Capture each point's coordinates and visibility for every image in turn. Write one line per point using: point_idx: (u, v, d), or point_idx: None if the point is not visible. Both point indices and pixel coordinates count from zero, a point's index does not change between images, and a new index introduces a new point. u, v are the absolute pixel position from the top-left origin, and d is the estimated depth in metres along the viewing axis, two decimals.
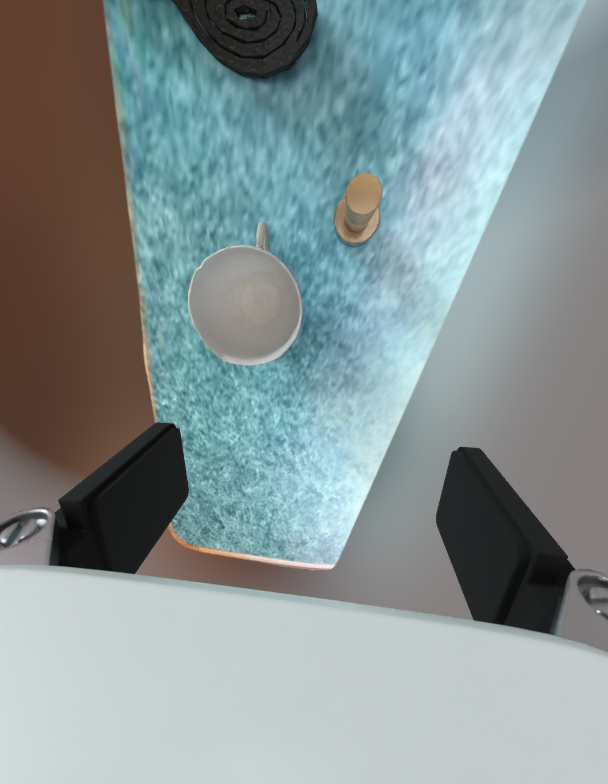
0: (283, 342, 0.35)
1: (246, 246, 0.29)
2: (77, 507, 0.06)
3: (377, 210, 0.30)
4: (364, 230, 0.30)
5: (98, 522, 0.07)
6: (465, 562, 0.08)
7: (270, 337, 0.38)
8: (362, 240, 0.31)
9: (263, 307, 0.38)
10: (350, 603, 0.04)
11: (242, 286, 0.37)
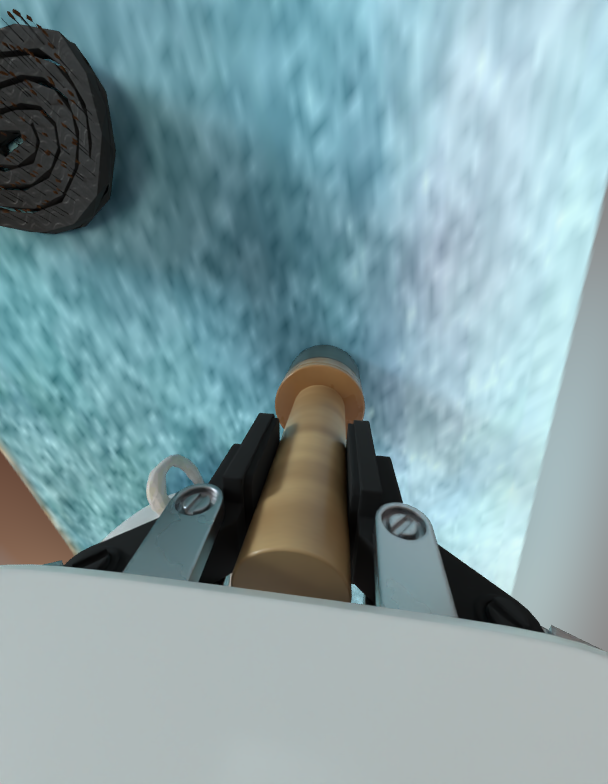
0: None
1: None
2: (237, 483, 0.07)
3: (353, 386, 0.14)
4: None
5: (251, 497, 0.08)
6: None
7: None
8: None
9: None
10: (350, 603, 0.04)
11: None
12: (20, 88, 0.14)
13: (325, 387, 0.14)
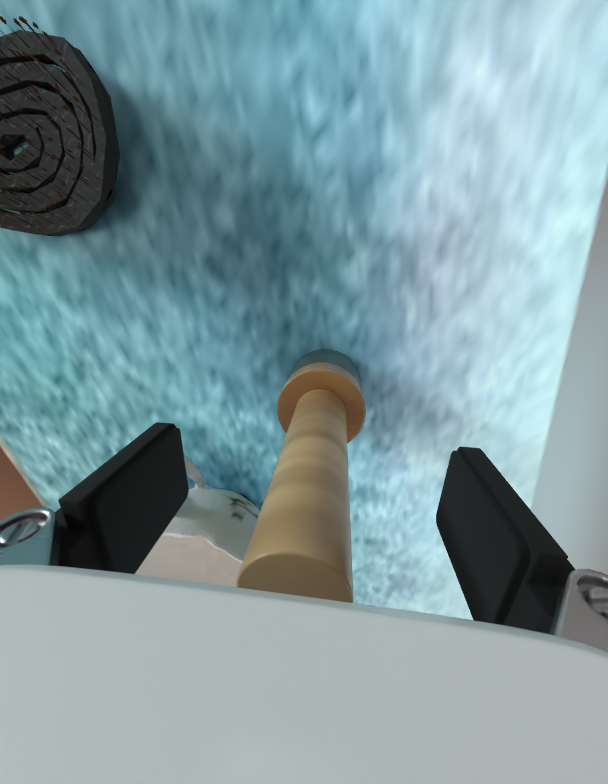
0: None
1: None
2: (77, 507, 0.06)
3: (354, 391, 0.15)
4: None
5: (98, 522, 0.07)
6: (465, 562, 0.08)
7: None
8: None
9: None
10: (350, 603, 0.04)
11: None
12: (25, 93, 0.14)
13: (326, 392, 0.15)
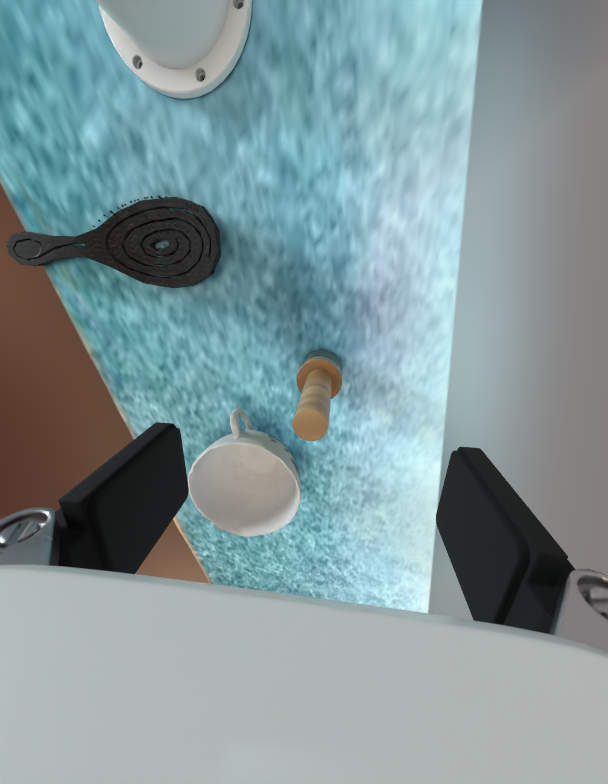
0: (291, 496, 0.35)
1: (225, 444, 0.30)
2: (77, 507, 0.06)
3: (335, 370, 0.29)
4: (330, 389, 0.30)
5: (98, 522, 0.07)
6: (465, 562, 0.08)
7: (278, 486, 0.38)
8: (331, 397, 0.30)
9: (263, 459, 0.39)
10: (350, 603, 0.04)
11: (237, 447, 0.38)
12: (172, 222, 0.29)
13: (322, 370, 0.29)
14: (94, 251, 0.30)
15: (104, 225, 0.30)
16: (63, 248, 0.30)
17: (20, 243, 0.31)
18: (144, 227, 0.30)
